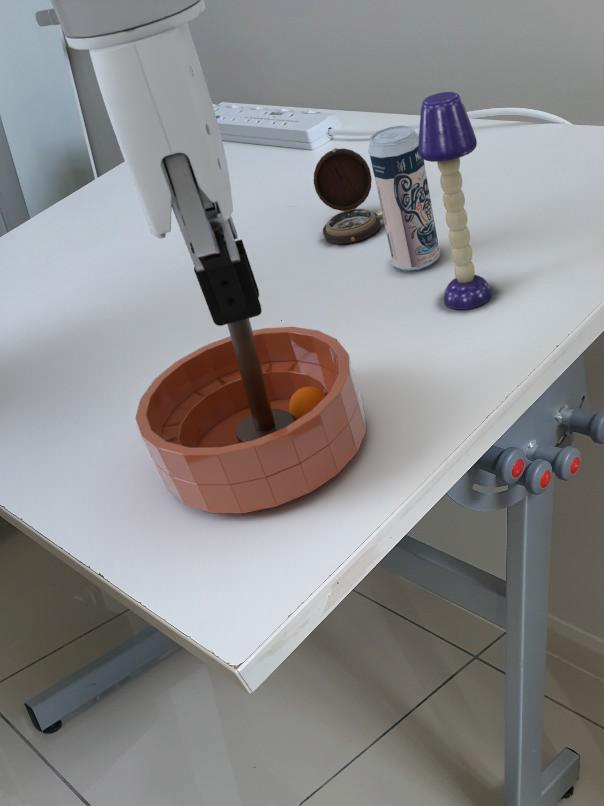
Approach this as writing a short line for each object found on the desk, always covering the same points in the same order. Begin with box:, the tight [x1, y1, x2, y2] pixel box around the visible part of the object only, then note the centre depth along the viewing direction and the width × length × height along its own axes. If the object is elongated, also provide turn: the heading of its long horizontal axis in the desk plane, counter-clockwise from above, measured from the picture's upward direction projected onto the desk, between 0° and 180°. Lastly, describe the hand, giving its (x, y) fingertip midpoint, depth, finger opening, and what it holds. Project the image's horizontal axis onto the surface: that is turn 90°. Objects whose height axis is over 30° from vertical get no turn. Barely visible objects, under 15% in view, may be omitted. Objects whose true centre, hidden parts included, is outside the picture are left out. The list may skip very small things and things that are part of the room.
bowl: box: [135, 326, 367, 514], centre depth 64 cm, size 16×16×6 cm
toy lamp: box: [418, 91, 493, 310], centre depth 72 cm, size 5×5×17 cm
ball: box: [289, 387, 326, 421], centre depth 65 cm, size 3×3×3 cm
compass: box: [313, 147, 384, 244], centre depth 90 cm, size 8×8×7 cm
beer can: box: [367, 125, 441, 272], centre depth 80 cm, size 5×5×12 cm
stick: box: [212, 227, 295, 443], centre depth 59 cm, size 4×4×16 cm
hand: (237, 309), depth 58 cm, fingers closed on stick, 1 cm apart
